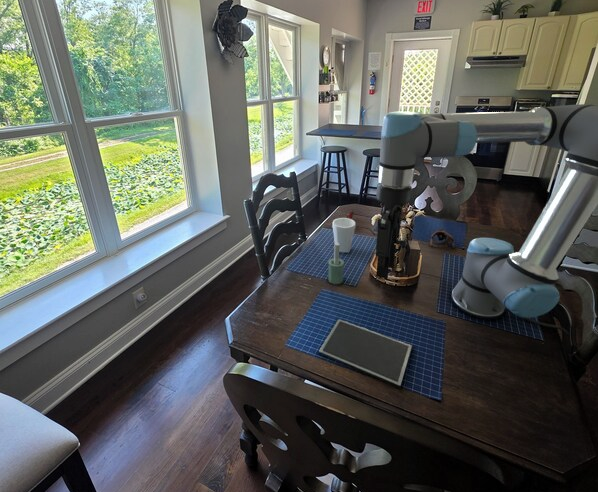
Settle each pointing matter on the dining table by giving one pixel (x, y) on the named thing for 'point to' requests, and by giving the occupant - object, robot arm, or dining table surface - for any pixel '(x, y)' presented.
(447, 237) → the pottery mug
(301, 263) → the dining table surface
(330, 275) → the pen pot
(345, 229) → the foam cup
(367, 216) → the glasses
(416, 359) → the dining table surface
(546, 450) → the dining table surface
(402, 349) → the tablet
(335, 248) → the stylus
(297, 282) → the dining table surface
